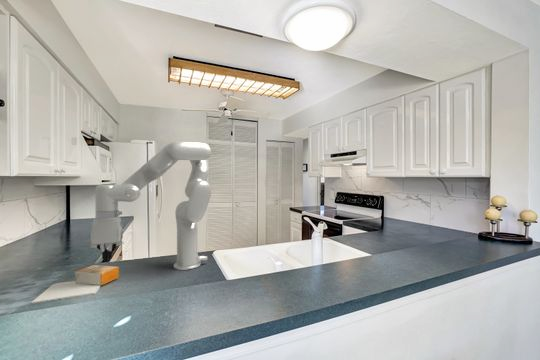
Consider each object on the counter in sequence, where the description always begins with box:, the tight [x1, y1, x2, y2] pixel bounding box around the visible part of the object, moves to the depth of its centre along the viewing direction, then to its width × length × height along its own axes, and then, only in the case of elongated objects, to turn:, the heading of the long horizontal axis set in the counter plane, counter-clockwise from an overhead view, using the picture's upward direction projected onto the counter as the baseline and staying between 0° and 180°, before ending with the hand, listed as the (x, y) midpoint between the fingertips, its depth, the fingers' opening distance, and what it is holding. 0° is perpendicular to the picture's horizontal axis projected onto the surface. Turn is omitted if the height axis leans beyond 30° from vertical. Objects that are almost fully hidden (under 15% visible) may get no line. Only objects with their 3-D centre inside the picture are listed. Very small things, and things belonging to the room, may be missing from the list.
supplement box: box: [74, 264, 120, 286], centre depth 98 cm, size 8×5×13 cm
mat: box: [30, 280, 102, 305], centre depth 91 cm, size 18×16×1 cm
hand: (107, 260), depth 95 cm, fingers closed
